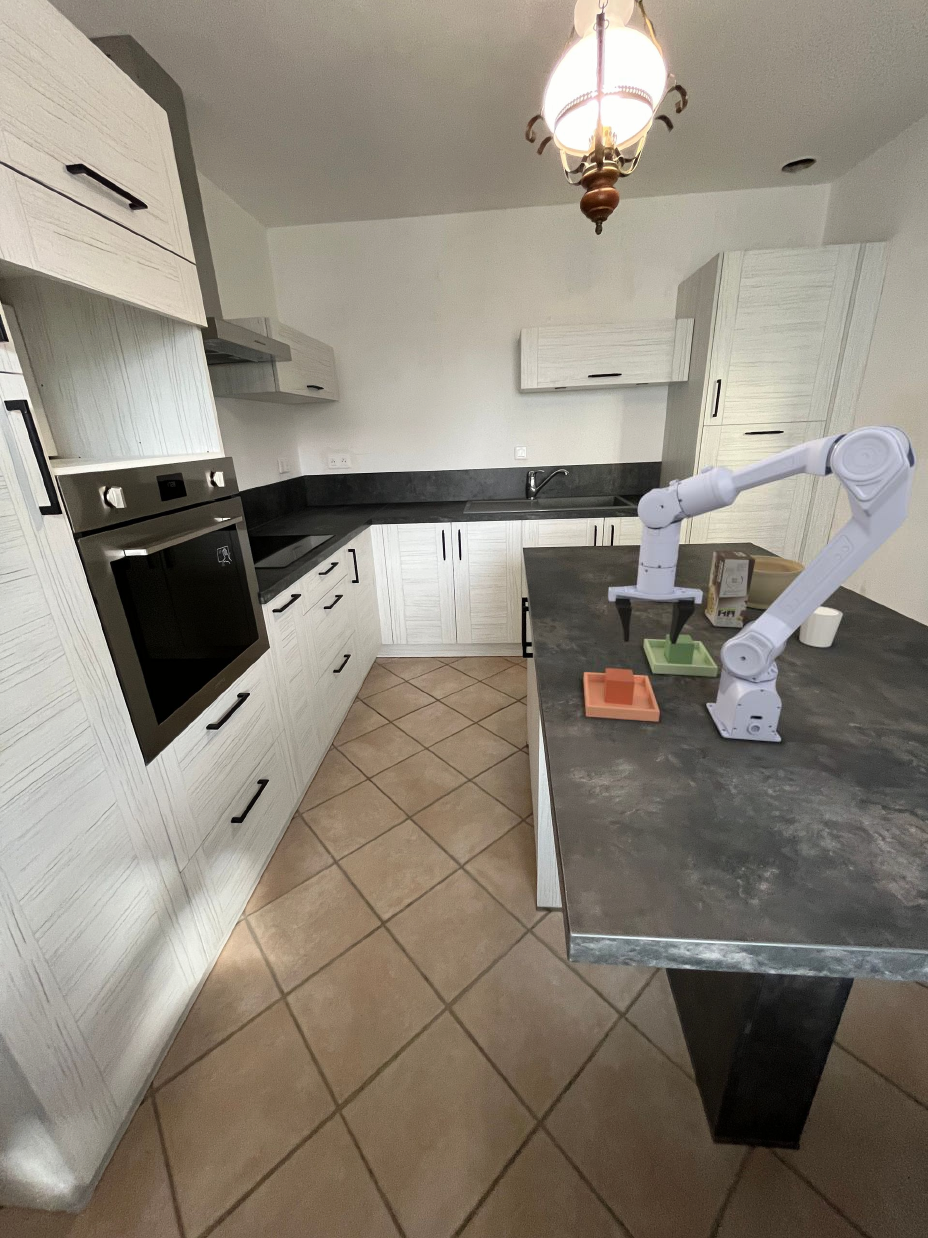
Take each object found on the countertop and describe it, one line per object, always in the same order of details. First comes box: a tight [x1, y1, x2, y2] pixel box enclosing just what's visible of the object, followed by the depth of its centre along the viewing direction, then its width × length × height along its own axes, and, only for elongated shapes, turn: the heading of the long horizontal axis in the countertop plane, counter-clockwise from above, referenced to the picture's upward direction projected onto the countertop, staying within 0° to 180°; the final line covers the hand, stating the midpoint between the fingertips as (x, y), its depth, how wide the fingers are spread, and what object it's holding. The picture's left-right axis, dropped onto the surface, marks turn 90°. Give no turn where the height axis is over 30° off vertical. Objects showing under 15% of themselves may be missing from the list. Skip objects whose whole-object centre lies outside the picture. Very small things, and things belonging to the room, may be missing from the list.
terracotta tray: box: [583, 671, 660, 723], centre depth 83 cm, size 12×11×2 cm
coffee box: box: [704, 549, 756, 629], centre depth 113 cm, size 9×6×16 cm
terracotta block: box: [604, 667, 635, 705], centre depth 83 cm, size 4×4×4 cm
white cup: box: [798, 605, 844, 648], centre depth 102 cm, size 7×7×7 cm
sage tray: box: [643, 638, 719, 678], centre depth 96 cm, size 12×11×2 cm
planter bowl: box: [746, 555, 806, 610], centre depth 123 cm, size 16×16×11 cm
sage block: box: [664, 633, 695, 664], centre depth 96 cm, size 4×4×4 cm
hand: (649, 640), depth 84 cm, fingers open, 7 cm apart
